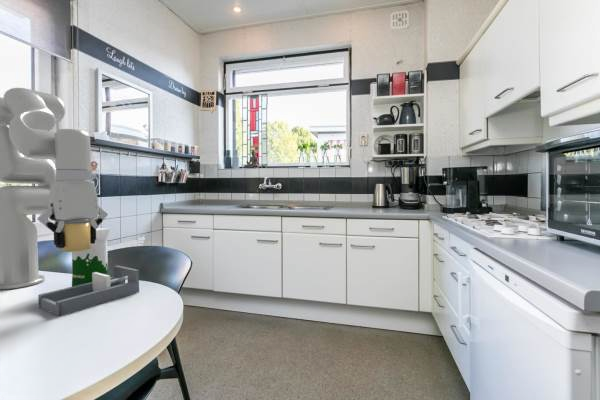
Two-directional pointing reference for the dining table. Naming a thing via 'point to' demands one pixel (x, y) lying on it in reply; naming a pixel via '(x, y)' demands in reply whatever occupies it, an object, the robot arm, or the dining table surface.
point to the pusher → (103, 281)
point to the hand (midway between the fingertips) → (76, 244)
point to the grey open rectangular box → (89, 293)
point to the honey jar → (77, 235)
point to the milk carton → (91, 259)
